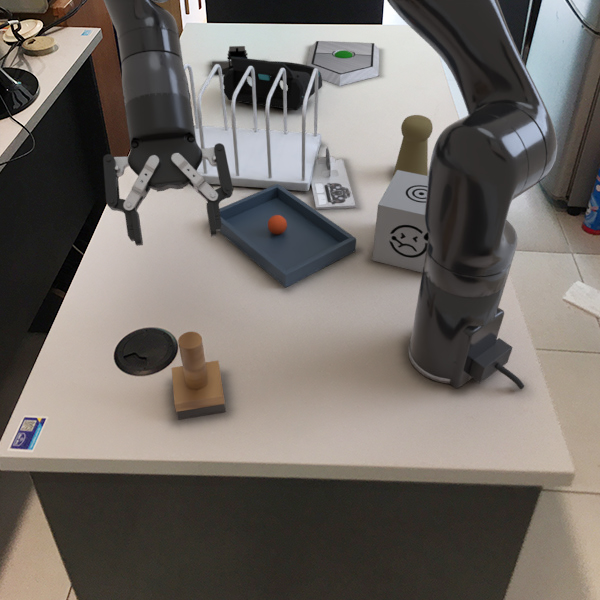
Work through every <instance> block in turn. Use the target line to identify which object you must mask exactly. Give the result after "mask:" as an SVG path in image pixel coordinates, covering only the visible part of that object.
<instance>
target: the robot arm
mask: <svg viewBox="0 0 600 600" xmlns="http://www.w3.org/2000/svg"><path fill="white" fill-rule="evenodd" d="M168 1H169V0H103V3H104V5H105V7H106V9H107V12H108V15H109V18H110V20H111V22H112V24H113V26H114V29H115V31H116V36H117V42H118V49H119V58H120V64H121V88H122V96H123V103H124V109H125V117H126V124H127V132H128V138H129V139H128V140H129V146H130V149H129V150H130V151H129V154H128V156H113V155H112V154H111V153H107V154H105V155H104V156H103V157H102V163H103V178H104V192H105V202H106V205H107V206H108V207H109V208H110V210H111V211H113V212H115V211H118V212H121V213H123V214H124V216H125V217H124V219H125V225H126V232H127V236H128V238H129V240H130V242H134V245H135V246H136V247H140V246H143V245H144V241H143V233H142V227H141V220H140V213H139V212H138V210H139V208H140V206H141V204H142V203H143V201H144V200H145V199H146V198H147V196H148V195H149V192H150V191H151V190H154V191H156V192H164V191H167V190H169V189H173V190H183V189H185V188H186V187H187V186H188V185H189V186H190V187H191V188H192V189H193V190H194V191H195V192H196V193H197V194H199V195H200V196H201V197H202V198H203V199H204V200H205V201H206V210H207V211H206V213H207V221H208V226H209V234H210V238H213V237H215V238H217V237H218V232H219V231H220V230H221V226H222V223H221V216H220V203H221V202H222V201H224V200H226V199H230V198H232V196H233V191H234V186H233V185H232V181H231V176H230V172H229V167H228V162H227V157H226V152H225V147H224V145H223V144H221V143H218V144H216V145H215V146H214V147H211V148H204V149H200V147H199V146H198V144H197V142H196V136H195V129H194V125H195V123H194V122H195V121H194V115H193V108H192V95H191V93H190V88H189V82H188V78H187V73H186V70H185V69H184V60H183V54H182V47H181V40H180V33H179V27H178V23H177V20H176V18H175V17H174V16H173V14H171V12H169V11H168V10H167V9H165V8H164V7H162V6H161V5H159V4H164V3H166V2H168ZM386 1H387V3H388V4H389V5H390V6H391V8H392V9H393V10H394V12H395V13H396V14H397V15H398V16H399V17H400V18H401V20H403V21H404V23H406V24H407V26H408V27H409V28H410V29H412V30H413V31H414V33H416V34H417V35H418V36H419V37H420V38H421V39H422V40H423V41H425V42H426V43H427V44H428V45H429V46H430V47H431V48H432V49H433V50H434V51H435V52H436V53H437V54H438V56H439V57H440V58H441V59H442V61H443V62H444V63H445V65H446V66H447V68H448V69H449V71H450V73H451V74H452V76H453V78H454V81H455V82H456V85H457V87H458V90H459V92H460V94H461V97H462V100H463V102H464V105H465V108H466V111H467V115H466V116H464V117H461V118H460V119H458V120H456V121H454V122H452V123H451V124H449V125H448V126H447V127H446V128H444V129H443V130H442V132H441V133H440V134H439V136H438V138H437V140H436V142H435V144H434V147H433V148H432V149H433V150H432V153H431V157H430V161H429V162H430V163H429V167H428V168H429V169H428V176H429V177H428V187H427V196H426V206H425V224H426V229H427V232H428V236H429V237H428V244H427V250H426V256H425V262H424V267H423V272H422V273H421V278H420V284H419V290H418V295H417V302H416V306H415V307H416V308H415V313H414V318H413V324H412V331H411V336H410V339H409V343H408V349H407V350H408V351H407V353H408V358H409V361H410V363H411V365H412V366H413V367H414V369H415V370H416V371H417V372H418V373H420V374H421V375H422V376H424V377H425V378H427V379H430V380H432V381H434V382H437V383H441V384H449V385H451V386H452V387H453V388H455V389H460V388H461V387H462V386H463V385H465V384H467V382H469V381H470V380H472V379H473V380H475V381H476V382H478V384H481V383H482V382H484V381H485V380H486V379H488V378H489V377H490V376H493V374H494V373H496V372H497V371H499V372H500V373H502V374H503V376H505V377H507V378H508V379H509V380H511V381H512V382H513V383H514V384H515V385H516V386H517V388H518V389H520V390H522V389H524V388H525V385H524V383H523V382H522V380H521V379H520V378H519V377H517V375H515V374H514V373H513V372H511V370H509V369H507V368H506V367H505V365H506V364H508V362H509V359H510V356H511V354H512V351H513V346H511V345H510V344H509V343H507V342H506V341H504V340H503V339H501V338H500V337H498V336H499V333H500V331H501V327H502V324H503V319H504V316H505V311H504V310H503V309H502V308H500V304H501V301H502V297H503V293H504V291H505V287H506V283H507V281H508V277H509V274H510V271H511V266H512V263H513V261H514V257H515V254H516V251H517V246H518V235H517V234H518V233H517V232H516V230H515V228H514V226H513V225H512V223H511V222H510V221H508V220H507V218H508V214H509V210H510V206H511V204H512V201H513V200H515V199H517V198H518V197H520V196H521V195H522V194H524V193H526V192H527V191H528V190H530V189H531V188H533V187H534V186H536V185H538V184H539V183H541V181H542V180H544V179H545V178H546V177H547V176H548V175H549V174H550V173H551V171H552V169H553V167H554V165H555V163H556V160H557V159H556V158H557V154H558V140H557V139H558V138H557V134H556V129H555V126H554V123H553V121H552V118H551V116H550V113H549V111H548V108H547V107H546V105H545V102H544V99H542V95H541V94H540V92H539V90H538V88H537V86H536V84H535V82H534V80H533V78H532V75H531V74H530V72H529V70H528V68H527V66H526V64H525V62H524V60H523V58H522V56H521V54H520V52H519V49H518V47H517V45H516V42H515V41H514V38H513V36H512V34H511V31H510V29H509V27H508V24H507V21H506V19H505V16H504V13H503V11H502V8H501V5H500V1H499V0H386ZM202 159H207V160H208V161H209V164H210V165H211V166H213V167H215V166H216V167H217V172H218V176H219V181H220V184H219V185H220V187H217V188H216V189H214V188H213V187H212V186H211V184H208V183H207V182H206V181H205V179H204V178H203V177H202V176H201V175H200V174H199V173H198V172H197V169H198V167H199V165H200V164H201V162H202ZM128 167H129V168H130V169H131V170H132V172H134V173H135V175H137V177H136V180H135V182H134V183H133V185H132V187H131V190H130V191H129V194H128V195H127V197H126V198H125V199H124V198H121V197H120V183H119V177H122V176H124V173H125V170H126V168H128Z"/></svg>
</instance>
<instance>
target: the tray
mask: <svg viewBox="0 0 600 600" xmlns="http://www.w3.org/2000/svg"><path fill="white" fill-rule="evenodd" d="M219 209H220V216H221V223H222V226H221V230H220V231H218V232H219V233H220V234H221V235H222V236H223V237H225V238H226V239H227V240H228V241H229V242H231V243H232V245H234V246H235V247H236V248H238V249H239V250H240V251H241V252H242V253H243V254H245V255H246V256H247V257H248V258H250V259H251V260H252V261H253V262H255V263H256V265H258V266H259V267H260V268H261V269H263V270H264V271H265V272H266V273H267V274H269V276H271V278H273V279H274V280H275V281H277V282H278V283H279V284H280V285H282V286H283V287H284V288H288V287H290V286H292V285H294V284H295V283H297V282H299V281H301V280H303V279H306V278H307V277H309V276H311V275H313V274H315V273H317V272H319V271H320V270H322V269H324V268H326V267H328V266H330V265H332V264H333V263H335V262H337V261H339V260H341V259H343V258H345V257H348V255H351V254H353V253H354V252H356V250H357V238H356V236H353V235H352V234H351V233H349V232H348V231H346V230H345V229H344V228H342V227H341V226H339V225H338V224H337V223H335V222H334V221H332V220H331V219H329V218H328V217H326V216H325V215H324V214H322V213H321V212H319V211H318V210H316V208H313V207H312V206H311V205H309V204H308V203H306V202H305V201H303V200H302V199H300V198H299V197H297V196H296V195H294V194H293V193H292V192H290V190H286V189H285V188H283V187H282V186H280V185H279V184H276V185H274V186H271V187H269V188H263V189H262V190H260V191H257V192H255V193H252V194H251V195H248V196H245V197H243V198H241V199H239V200H236V201H233V202H231V203H229V204H227V205H225V206H222V207H219ZM275 215H280V216H282V217H284V218H285V220H286V222H287V228H286V230H285V231H284V232H283V233H282V234H278V235H276V234H273V233H271V232H270V230H269V229H268V221H269V219H270V218H271V217H273V216H275Z"/></svg>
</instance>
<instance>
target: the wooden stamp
mask: <svg viewBox="0 0 600 600" xmlns="http://www.w3.org/2000/svg"><path fill="white" fill-rule="evenodd" d="M177 344H178V348H179V349H178V350H179V354H180V359H181V365H179V366H173V367H171V377H172V389H173V402H174V408H175V413H176V418H177V420H185V419H191V418H197V417H203V416H209V415H214V414H221V413H226V411H227V410H226V403H225V395H224V387H223V382H222V375H221V368H220V362H219V360H212V361H206V355H205V349H204V342H203V336H202V335H201V333H198V332H196V331H187V332H184V333H182V334H181V335H180V336H179V338H178V339H177Z"/></svg>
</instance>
